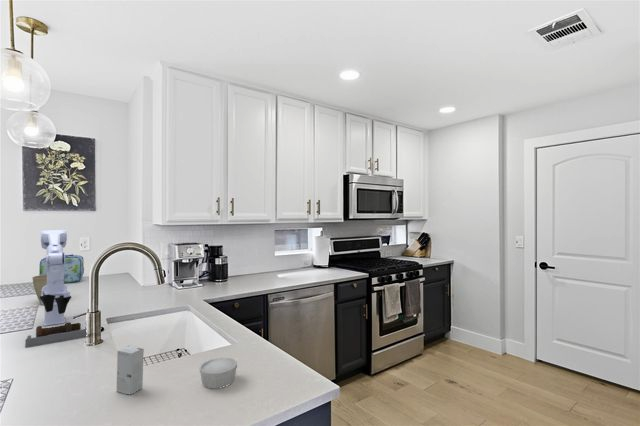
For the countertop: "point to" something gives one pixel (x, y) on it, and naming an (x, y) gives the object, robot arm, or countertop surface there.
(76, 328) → the bolt
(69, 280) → the lunch box
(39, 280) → the plant pot
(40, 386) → the countertop surface
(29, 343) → the bracket
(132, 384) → the skincare box
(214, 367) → the ramekin
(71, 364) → the countertop surface
